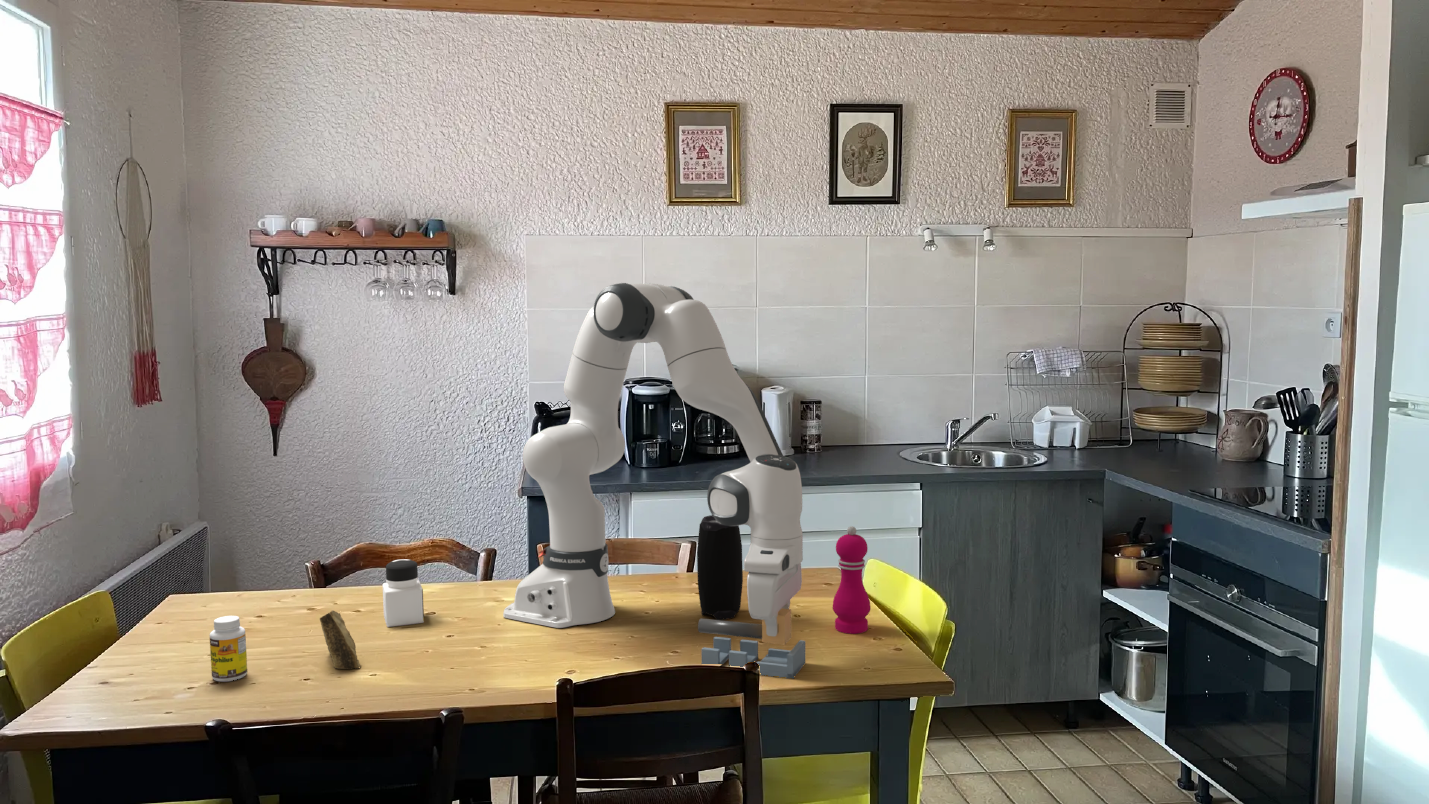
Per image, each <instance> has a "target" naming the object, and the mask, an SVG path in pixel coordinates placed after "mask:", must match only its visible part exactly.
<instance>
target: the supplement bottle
mask: <svg viewBox="0 0 1429 804" xmlns="http://www.w3.org/2000/svg"><path fill="white" fill-rule="evenodd" d="M246 638H247V637H246V629H245V628H244V627H243V626H241V621H240V616H237V615H224V616H219V617H218V618H215V619H214V620H213V630H212V631H211V632H210V633H209V653H210V665H211V666H210V667H211V668H210V669H211V677H212V679H213V680H214V681H215V682H233V680H234V681H238V680H240V679H242V678H244V677H245V676H246V675H247V673H248V660H247V659H248V656H247V641H246V640H247V639H246ZM237 679H238V680H237Z"/></svg>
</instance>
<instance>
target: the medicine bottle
mask: <svg viewBox="0 0 1429 804" xmlns="http://www.w3.org/2000/svg"><path fill="white" fill-rule="evenodd" d="M418 572H419V571H418V563H417V562H416V561H415V560H412V559H404V558H403V559H395V560H392V561H390V562H389V563H387V564H386V565H385V580H386V582H384V583H382V601H383V602H382V603H383V606H382V607H383V617H384V621H385V625H386V627H387V628H390V627H392V628H393V627H400V626H409V625H415V624H416V625H417V624H423V623H424V622H425V616H424V615H425V613H424V589H423V587H422V584H421V582H420V580H419V573H418Z"/></svg>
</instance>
